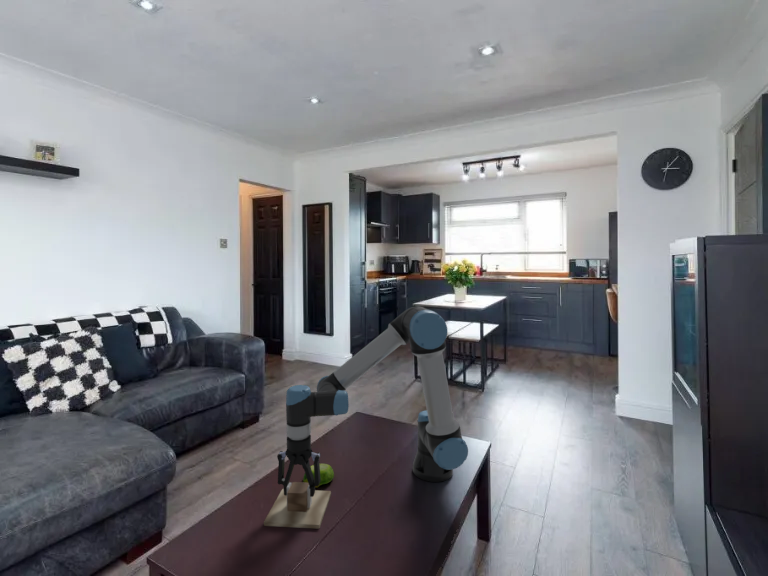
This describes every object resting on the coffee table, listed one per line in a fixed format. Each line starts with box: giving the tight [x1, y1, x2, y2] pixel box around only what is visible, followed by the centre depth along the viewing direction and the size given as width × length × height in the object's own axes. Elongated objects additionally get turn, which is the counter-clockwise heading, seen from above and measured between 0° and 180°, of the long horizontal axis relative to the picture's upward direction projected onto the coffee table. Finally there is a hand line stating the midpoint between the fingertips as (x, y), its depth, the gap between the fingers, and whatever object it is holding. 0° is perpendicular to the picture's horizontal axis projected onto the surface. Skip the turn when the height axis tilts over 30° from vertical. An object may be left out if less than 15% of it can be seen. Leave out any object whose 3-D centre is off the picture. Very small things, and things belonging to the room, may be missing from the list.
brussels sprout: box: [302, 463, 335, 489], centre depth 142 cm, size 12×11×5 cm
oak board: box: [263, 488, 332, 530], centre depth 125 cm, size 17×17×1 cm
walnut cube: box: [287, 481, 309, 512], centre depth 125 cm, size 6×6×6 cm
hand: (299, 504), depth 125 cm, fingers closed on walnut cube, 6 cm apart
